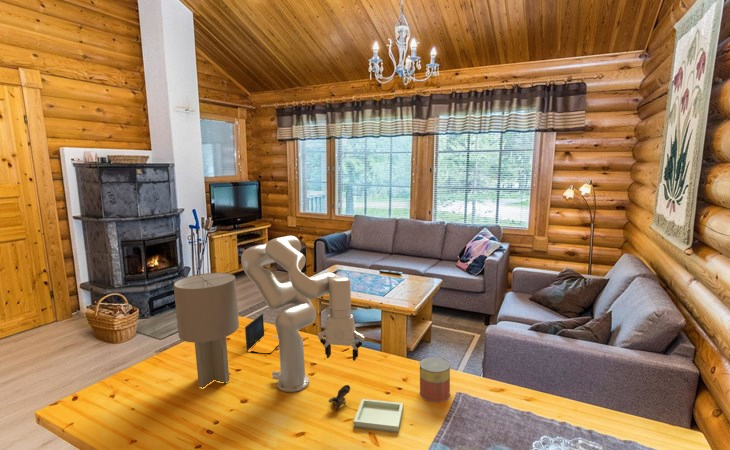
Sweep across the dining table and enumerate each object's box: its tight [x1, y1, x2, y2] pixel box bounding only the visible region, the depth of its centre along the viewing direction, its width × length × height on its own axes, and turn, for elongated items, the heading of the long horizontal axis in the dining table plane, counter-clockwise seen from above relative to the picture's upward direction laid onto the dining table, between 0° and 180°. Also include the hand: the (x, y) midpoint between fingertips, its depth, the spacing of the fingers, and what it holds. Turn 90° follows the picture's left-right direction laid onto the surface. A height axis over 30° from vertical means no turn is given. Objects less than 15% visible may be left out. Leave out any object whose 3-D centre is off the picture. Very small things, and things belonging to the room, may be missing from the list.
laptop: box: [244, 313, 278, 352], centre depth 192 cm, size 18×12×13 cm
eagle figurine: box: [328, 384, 351, 412], centre depth 142 cm, size 8×7×9 cm
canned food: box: [419, 356, 451, 403], centre depth 147 cm, size 11×11×12 cm
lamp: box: [173, 272, 240, 388], centre depth 159 cm, size 23×23×43 cm
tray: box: [353, 398, 404, 433], centre depth 134 cm, size 15×13×2 cm
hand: (341, 357), depth 139 cm, fingers open, 9 cm apart
